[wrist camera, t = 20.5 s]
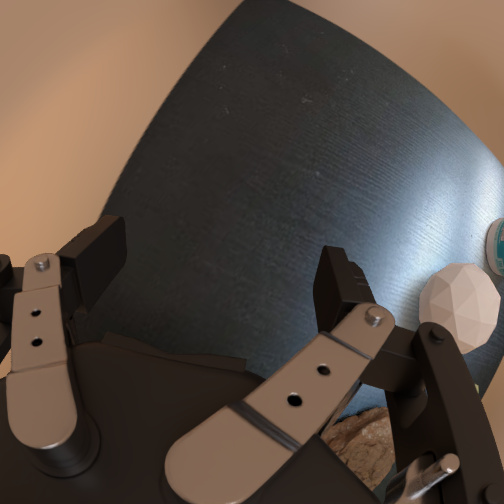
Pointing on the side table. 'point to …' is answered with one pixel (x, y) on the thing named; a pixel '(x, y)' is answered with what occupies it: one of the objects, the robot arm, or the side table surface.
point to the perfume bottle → (461, 304)
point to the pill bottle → (496, 247)
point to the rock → (364, 445)
